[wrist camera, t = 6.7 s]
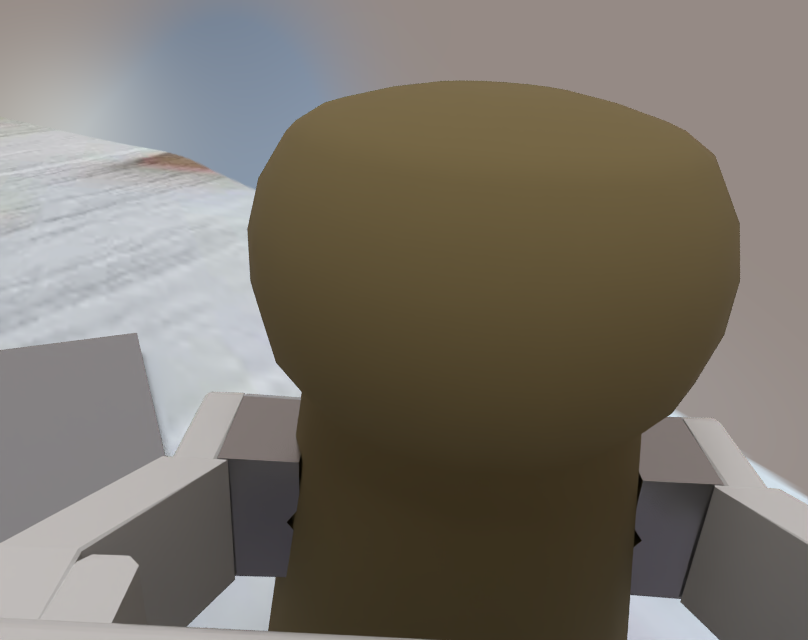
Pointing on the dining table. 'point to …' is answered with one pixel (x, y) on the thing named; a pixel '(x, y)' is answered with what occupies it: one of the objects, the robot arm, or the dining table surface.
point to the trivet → (70, 424)
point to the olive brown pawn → (481, 350)
